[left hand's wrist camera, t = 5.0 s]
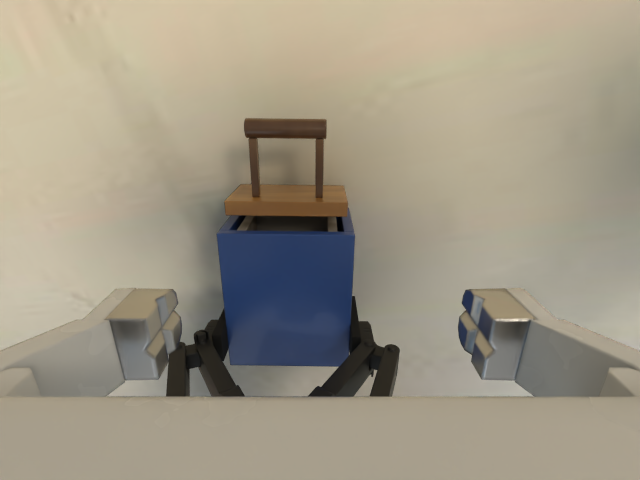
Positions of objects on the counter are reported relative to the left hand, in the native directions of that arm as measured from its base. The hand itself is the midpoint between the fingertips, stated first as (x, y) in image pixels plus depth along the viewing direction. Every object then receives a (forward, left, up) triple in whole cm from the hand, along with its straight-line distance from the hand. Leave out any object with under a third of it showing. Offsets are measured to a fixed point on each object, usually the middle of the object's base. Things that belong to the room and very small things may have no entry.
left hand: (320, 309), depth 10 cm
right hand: (+14, -1, -22) cm, 27 cm away
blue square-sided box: (+11, -2, -25) cm, 28 cm away
